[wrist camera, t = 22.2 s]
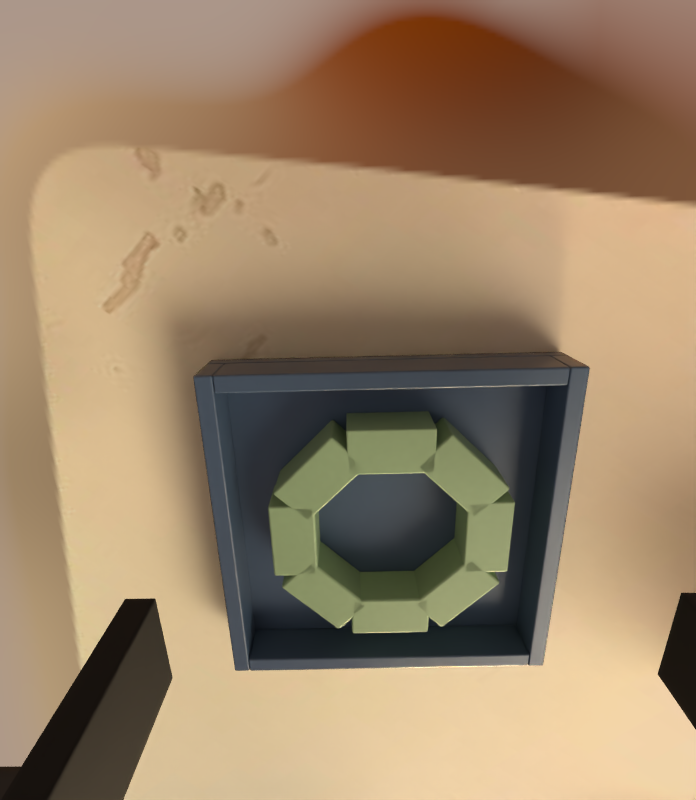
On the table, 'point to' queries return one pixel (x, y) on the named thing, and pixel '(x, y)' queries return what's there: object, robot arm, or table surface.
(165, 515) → the table surface
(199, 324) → the table surface
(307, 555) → the ring
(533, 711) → the table surface
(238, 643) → the tray
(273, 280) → the table surface
